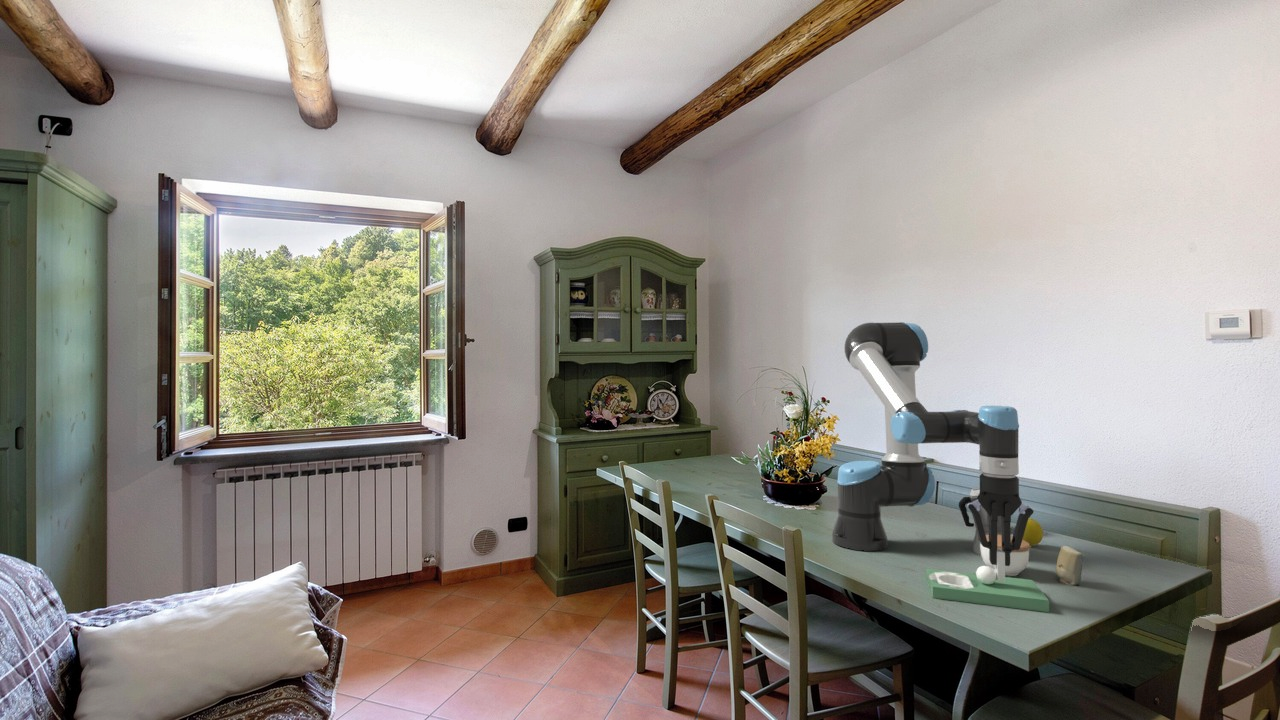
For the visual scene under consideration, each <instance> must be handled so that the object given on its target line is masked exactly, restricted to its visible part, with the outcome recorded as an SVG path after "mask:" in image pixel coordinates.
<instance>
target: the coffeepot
mask: <svg viewBox="0 0 1280 720" xmlns="http://www.w3.org/2000/svg"><path fill="white" fill-rule="evenodd" d="M977 497H978V496H972V497H971V496H963V497H962V498H961V499H960V501H958V508H959V511H960V514H961V516H962V520H963V521H964V524H965V526H966V527H968V528H969V527H970V528H974V526H975V523H971V522H970V517H969V513H968V509H967V503H968V502H970V503H972V502H973V501H975V500H977ZM979 507H980V510H979V511H978V512H979V514H980V517H981V521H982V524H983V528H984V531H985V535H989V518H988V513H987V512H986V511H985V509H984V508H983V507H982V505H981V504H980V506H979ZM997 535H1002V527H1001V516H998V521H997ZM972 551H973V553H974V552H975V553H974V554H976V555H978V554H979V555H978V556H980V555H981V551H980V541H979V537H978V533H977V530H976V529H975V534H974V537H973V545H972Z"/></svg>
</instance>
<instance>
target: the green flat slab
mask: <svg viewBox="0 0 1280 720" xmlns="http://www.w3.org/2000/svg"><path fill="white" fill-rule="evenodd" d="M925 570H926V571H925V572H926V575H925V576H926V582H927V585H928V588H929V590H930V591H929V592H930V594H931V596H932V599H938V600H948V601H954V602H962V603H970V604H971V603H972V604H980V605H988V606H995V607H1004V608H1013V609H1021V610H1028V611H1029V610H1030V611H1034V612H1035V611H1037V612H1043V613H1049V612H1050V600H1049V598H1048V597H1047V596H1046V595H1045V594H1044V592H1043V591H1042V590H1041V589H1040V587H1038V585H1037V583H1035V582H1034V580H1033V579H1027V578H1018V577H1017V578H1016V577H1010V576H1005V582H1002V581H997V579H996V581H995V582H994V583H993V584H984V583H982V582H980V581H979V580H978V578H977V576H976V573H973V572H961V571H955V570H954V571H952V570H941V569H933V568H926V569H925Z"/></svg>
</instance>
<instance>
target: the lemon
mask: <svg viewBox="0 0 1280 720" xmlns="http://www.w3.org/2000/svg"><path fill="white" fill-rule="evenodd" d="M1043 537H1044V531H1043V528H1042V525H1041V524H1040V523H1039V522H1038V521H1036V519H1035V520H1034V519H1033V518H1031V517H1029V519H1028V521H1027V525H1026V529H1025V532H1024V536H1023V539H1022V540H1024V541H1026V542H1028V543H1029V545H1030V547H1033V546H1035V545H1038V544H1039V543H1041V542H1042V540H1043Z"/></svg>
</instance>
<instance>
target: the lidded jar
mask: <svg viewBox="0 0 1280 720" xmlns="http://www.w3.org/2000/svg"><path fill="white" fill-rule="evenodd" d="M986 538H987V541H988V542H989V535H986ZM1012 538H1013V536H1011V541H1012ZM1030 547H1031V546H1030V545H1029V543H1028V542H1026V541H1024V540H1022V543H1021V546H1020V549H1019V550H1013V551H1012V552H1011V553H1010V566H1005V577H1015V576H1018V575H1020V573H1022V572H1023V571H1024V570H1025V569H1026V567H1027V566H1028V563H1029V558H1030ZM997 548H998V549H1002V535H997ZM980 551H981V559H982V560H983V562H984V564H985V566H989V567H991V568H992V569H993V570H994V571H995V565H992V564H991V562H990V560H989V549H988V548H986V547H983V546H982V544H981V543H980Z"/></svg>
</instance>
